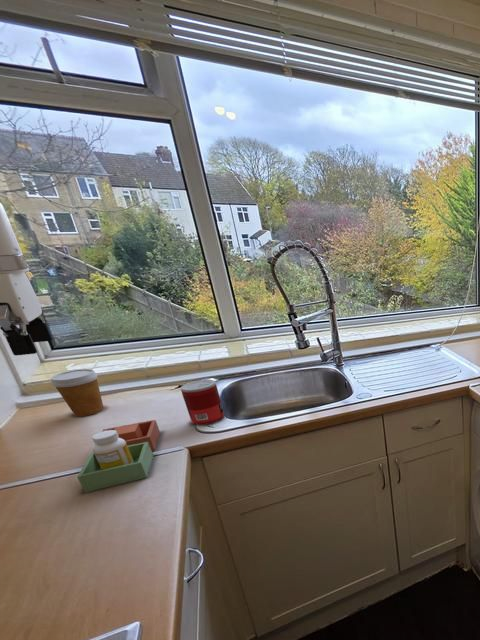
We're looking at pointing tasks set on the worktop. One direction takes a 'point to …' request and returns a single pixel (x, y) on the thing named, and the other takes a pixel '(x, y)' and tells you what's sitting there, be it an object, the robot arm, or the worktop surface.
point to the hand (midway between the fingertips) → (34, 347)
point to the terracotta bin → (144, 434)
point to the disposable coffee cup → (79, 391)
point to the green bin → (116, 469)
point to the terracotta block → (129, 432)
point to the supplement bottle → (111, 450)
